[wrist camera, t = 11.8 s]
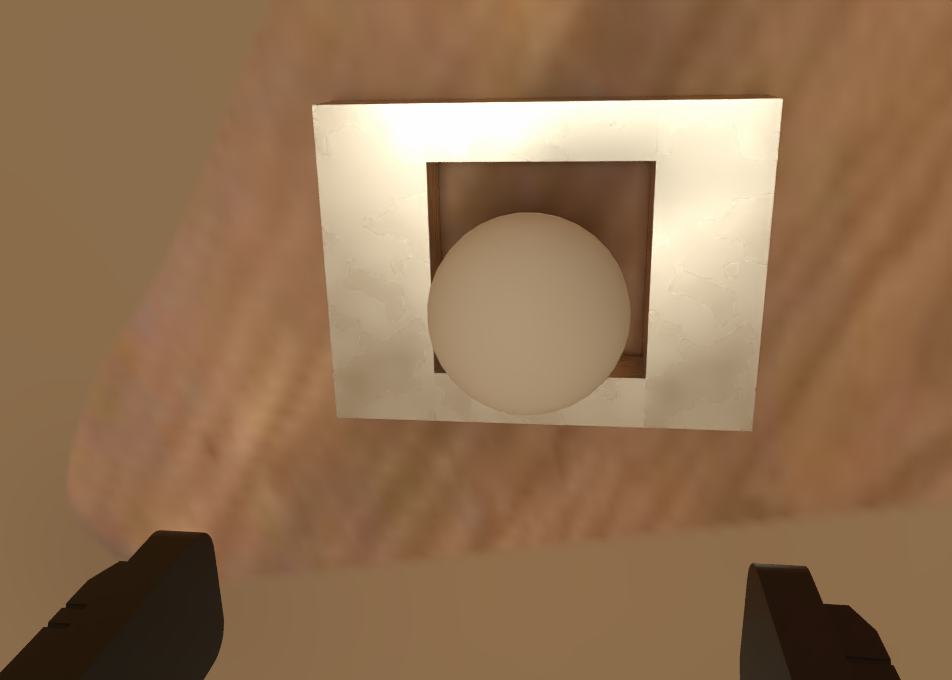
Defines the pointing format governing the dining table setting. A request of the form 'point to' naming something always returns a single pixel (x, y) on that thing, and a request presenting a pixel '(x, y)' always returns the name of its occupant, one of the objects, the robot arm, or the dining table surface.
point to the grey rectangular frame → (553, 139)
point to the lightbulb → (528, 313)
